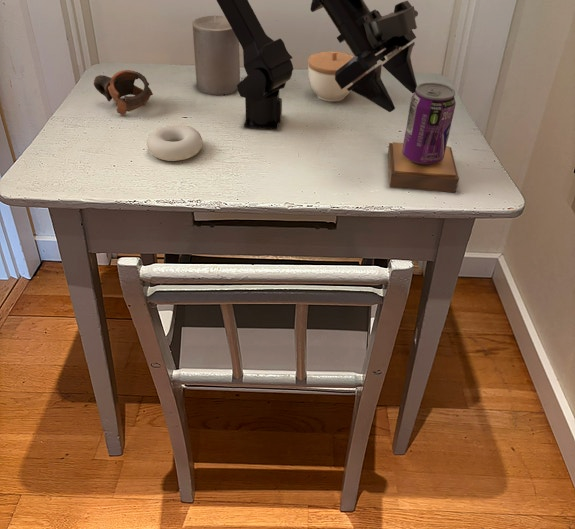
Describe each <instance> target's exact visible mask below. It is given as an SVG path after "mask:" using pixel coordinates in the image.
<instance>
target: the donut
mask: <svg viewBox="0 0 575 529" xmlns="http://www.w3.org/2000/svg"><path fill="white" fill-rule="evenodd" d="M203 141H204V140H203V137H202V135H201V133H200V132H199V131H198V130H196V129H195V128H194V127H192V126H189V125H185V124H169V125H168V124H167V125H164V126H160V127H157V128H156V129H154V130H153V131H152V132H150V133H149V134H148V137H147V139H146V148H147V150H148V152H149V153H150V154H151V155H152V156H153V157H155V158H157V159H159V160H162V161H169V162H177V161H184V160H187V159H190V158H192V157H194V156H196V155H197V154H199V152H200V151H201V150H202V148H203V143H204V142H203Z"/></svg>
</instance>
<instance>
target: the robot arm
mask: <svg viewBox="0 0 575 529" xmlns="http://www.w3.org/2000/svg"><path fill="white" fill-rule="evenodd" d="M216 3H217V4H218V6H219V8H220V10H221V11H222V13H223V16H225V17H226V19H227V21H228V22H229V24H230V26H231V28H232V30H233V32H234V33H235V35H236V37H237V39H238V41H239V45H240V46H241V48H242V56H243V59H242V60H243V68H244V70H245V73H246V76H245V77H244V78H243V79H242V80H240V83H239V84H238V85H237V88H238V89H237V91H238V95H239V97H241V98H244V99H245V100H244V101H245V102H244V104H245V106H244V108H245V121H244V124H243V128H246V129H248V128H249V129H263V130H277V129H278V127H279V124H280V123H281V121H282V118H283V98H282V97H280V90H282V89H284V88H285V87H286V84H287V82H289V81H290V80H291V78H292V76H293V70H294V65H293V62H292V59H293V56H292V55H291V54H290V53H289V51H288V50H287V48H286V45H285V41H283V40H282V38H277V39H276V40H274V39H272V38H271V37H270V36H268V35H267V33H266V32H265V30H264V28H263V27H262V24H261V23H260V20H259V19H258V17H257V15H256V13H255V12H254V9H253V7H252V6H251V4H250V2H249V0H216ZM321 9H324V11H325V12H326V14H327V15H328V17H329V18H330V20H331V21H332V23H333V25H334V26H335V28H336V29H337V31H338V33H339V35H338V36H337V37H336V39H337V41H338V43H339V44H341V43H343V42H344V41H345V44H346V45H347V46H348V48H349V50H350V52H351V53H352V55H353V56H354V57H353V58H352V59H351V60H350V61H348V62H347V63H346V64H345V65H343V66H342V67H341V68H339V69H338V70H337V71H336V73H335V81H336V82H337V84H338V85H339V87H340V88H341V90H342V89H343V88H344V87H346V86H347V85H349V84H350V83H352V84H353V85H351V86H350V87H349V88H347V90H348V91H350V90H351V92H353V93H355V94H358V95H359V96H360V97H363V98H365V99H366V100H369V101H370V102H371V103H373V104H375V105H377V106H379V107H380V108H381V109H383V110H385V111H386V112H387V113H391V112H393V111H395V110H396V106H395V104H394V101H393V99H392V97H391V96H390V94H389V92H388V89H387V87H386V85H385V84H384V81H383V80H382V67H383V68H384V70H386V71H388V73H389V74H390V75H392V76H393V77H394V78H395V79H396V80H397V81H398V82H399V83H400V84H401V85H402V86H403V87H404V88H405V89H406V90H408V91H409V92H410V93H411V94H414V93H415V92H416V87H417V86H418V83H417V80H416V76H415V73H414V67H413V64H412V59H411V55H412V52H413V49H414V46H415V42H416V41H414V40H415V39H416V38H417V36H416V34H415V32H414V31H413V30H416V29H418V26H417V21H416V18H417V17H418V15H419V11H417V10H416V9H415V6H414V5H412V4H411V3H410V2H409V0H404V1H401V2H398V3H397V4H395V5H394V9H393V12H390V13H387V14H385V15H382V14H381V13H380V11H379V10H378V9H377V10H376V9H373V10H370V9H369V7H368V5H367V4H366V2H365V0H311V4H310V12H312V13H314V12H317V11H318V10H321ZM412 41H413V42H412ZM378 61H381V62H384V63H383V64H379V65H378V66H376V65H377V64H378ZM385 61H386V62H385Z"/></svg>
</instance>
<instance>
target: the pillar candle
mask: <svg viewBox="0 0 575 529" xmlns="http://www.w3.org/2000/svg"><path fill="white" fill-rule="evenodd" d="M192 36H193V37H192V38H193V51H194V52H193V53H194V65H195V66H194V67H195V80H196V88H197V89H198V91H200V92H201V93H204V94H208V95H214V96H215V95H216V96H218V95H219V96H220V95H229V94H232V93H234V92H235V91H238V88H237V85H238V84H239V83H240V82H241V69H240V68H241V64H240V62H241V61H240V42H239V41H238V39H237V37H236V35H235V33H234V32H233V30H232V28H231V26H230V24H229V22H228V21H227V19H226V17H225V15H205V16H201V17H198V18H195V19H194V20H193V21H192Z"/></svg>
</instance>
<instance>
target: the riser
mask: <svg viewBox="0 0 575 529" xmlns="http://www.w3.org/2000/svg"><path fill="white" fill-rule="evenodd" d="M402 148H403V142H396V141H395V142H394V141H392V142H389V143H388V149H387V156H386V157H387V170H388V186H389V188H394V189H408V190H422V191H433V192H434V191H435V192H446V193H456V191H457V188H458V185H459V182H460V181H459V180H460V178H459V174H458V170H457V165H456V161H455V158H454V154H453V148H452V147H451V146H448V145H446V150H445V154H444V158H443V159H442V160H441V161H439V162H437V163H432V164H418V163H415V162H413V161H411V160H409V159H407V158H406V157H405V156H404V155H403V153H402Z"/></svg>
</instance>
